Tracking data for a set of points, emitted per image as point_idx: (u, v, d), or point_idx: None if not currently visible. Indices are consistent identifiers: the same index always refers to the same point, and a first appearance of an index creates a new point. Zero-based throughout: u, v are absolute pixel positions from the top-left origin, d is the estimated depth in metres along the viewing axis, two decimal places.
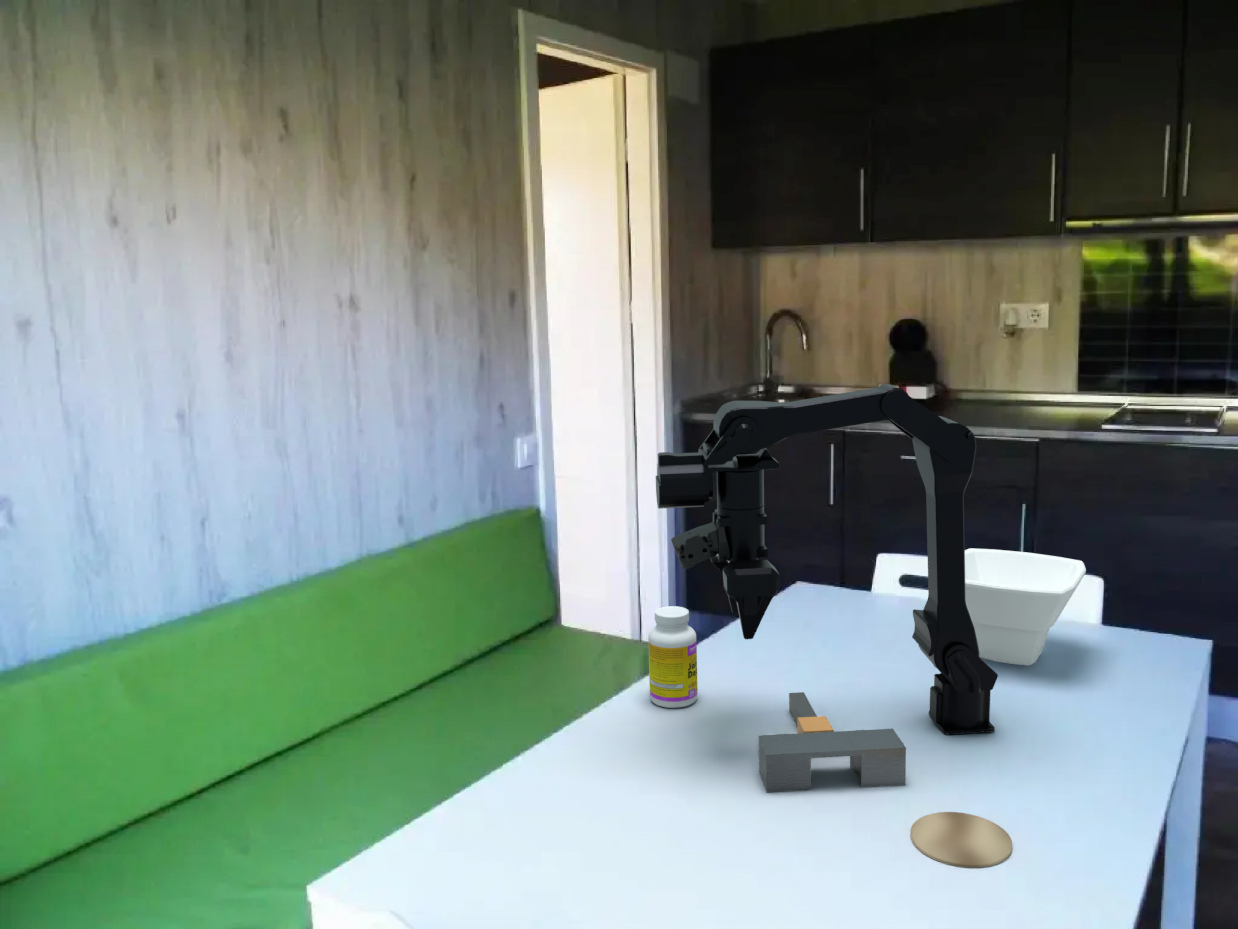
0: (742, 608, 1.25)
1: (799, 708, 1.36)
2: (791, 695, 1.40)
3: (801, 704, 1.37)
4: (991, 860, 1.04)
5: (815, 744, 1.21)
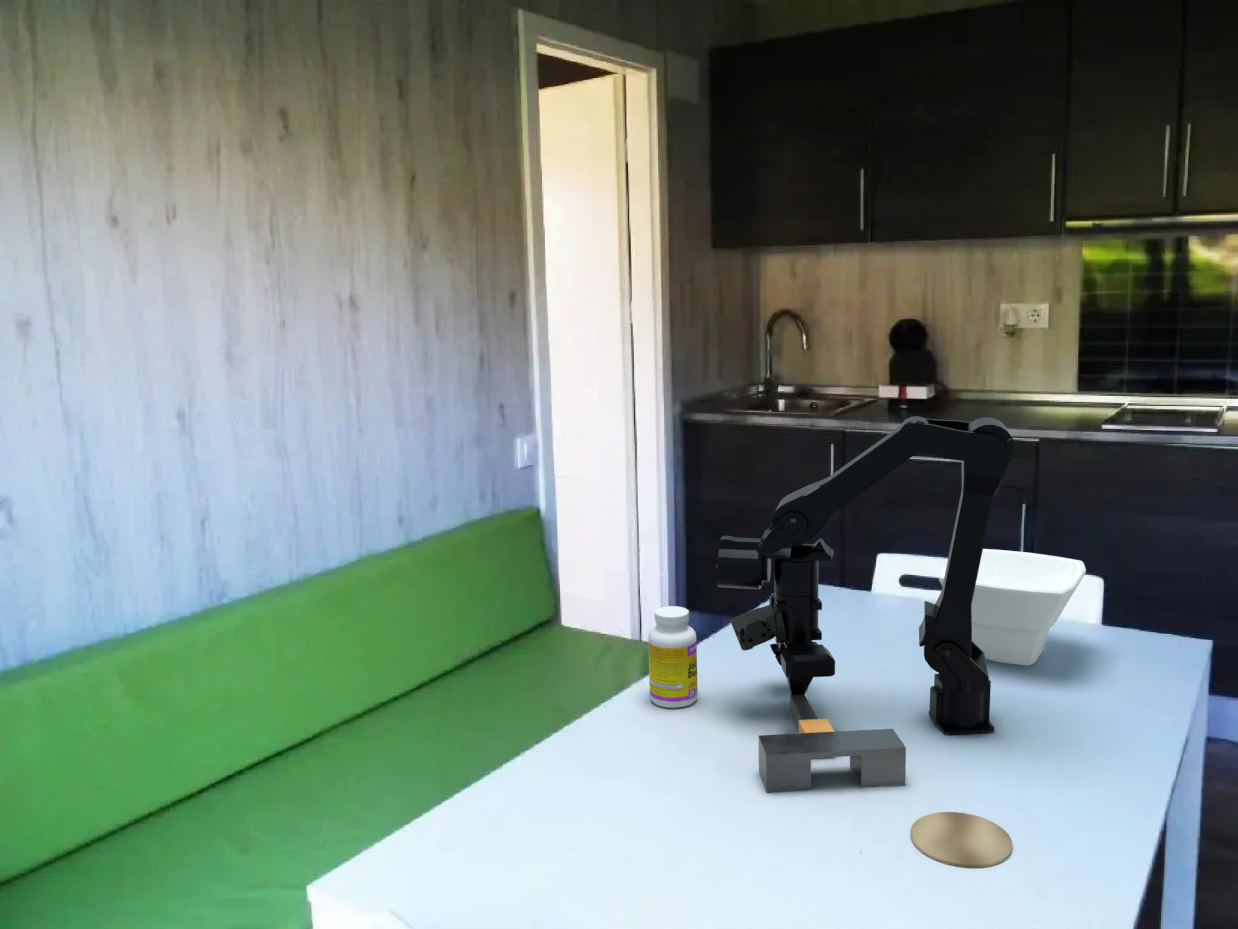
0: None
1: (800, 710, 1.35)
2: (792, 697, 1.39)
3: (802, 707, 1.36)
4: (991, 860, 1.04)
5: (815, 744, 1.21)
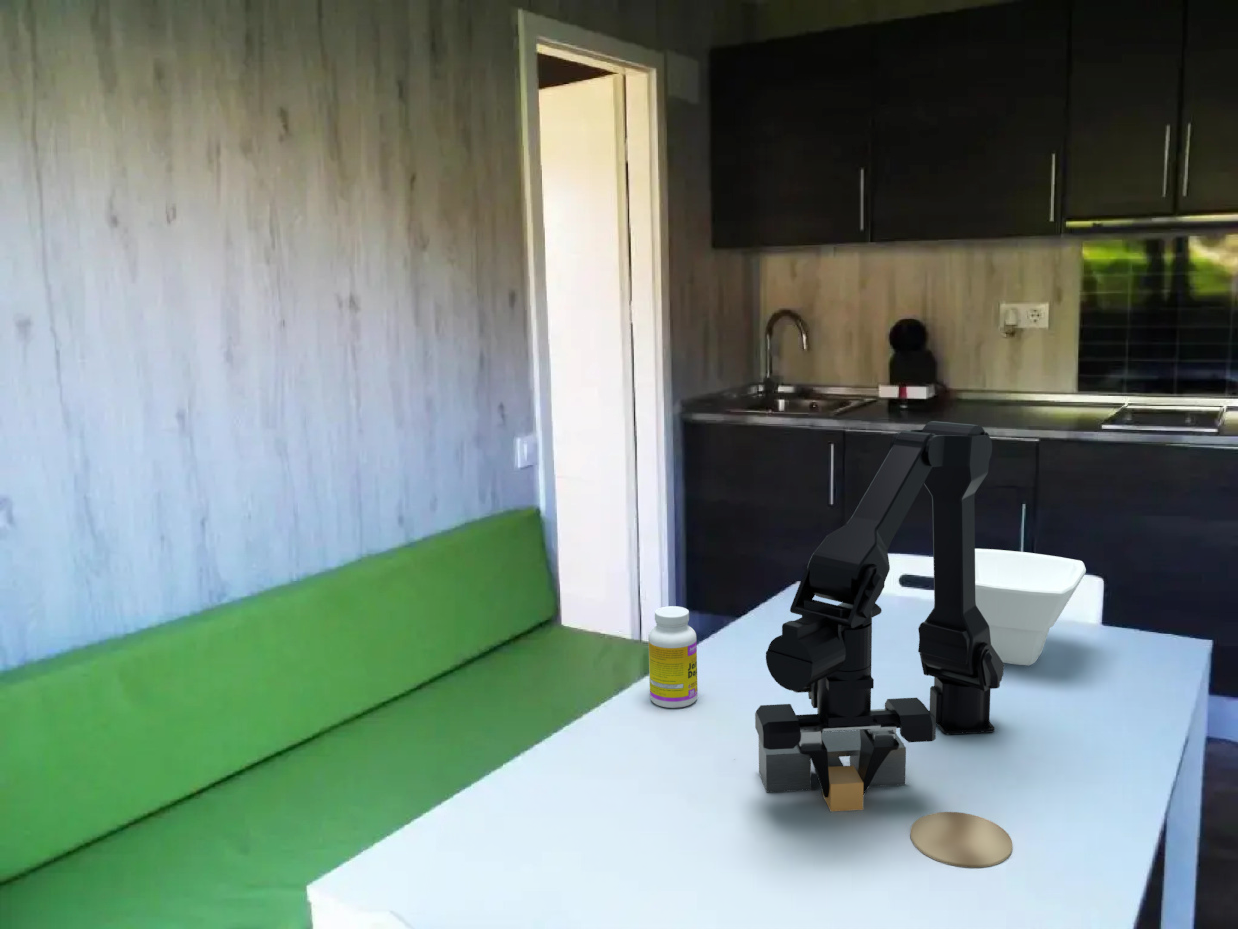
0: None
1: None
2: None
3: None
4: (991, 860, 1.04)
5: None
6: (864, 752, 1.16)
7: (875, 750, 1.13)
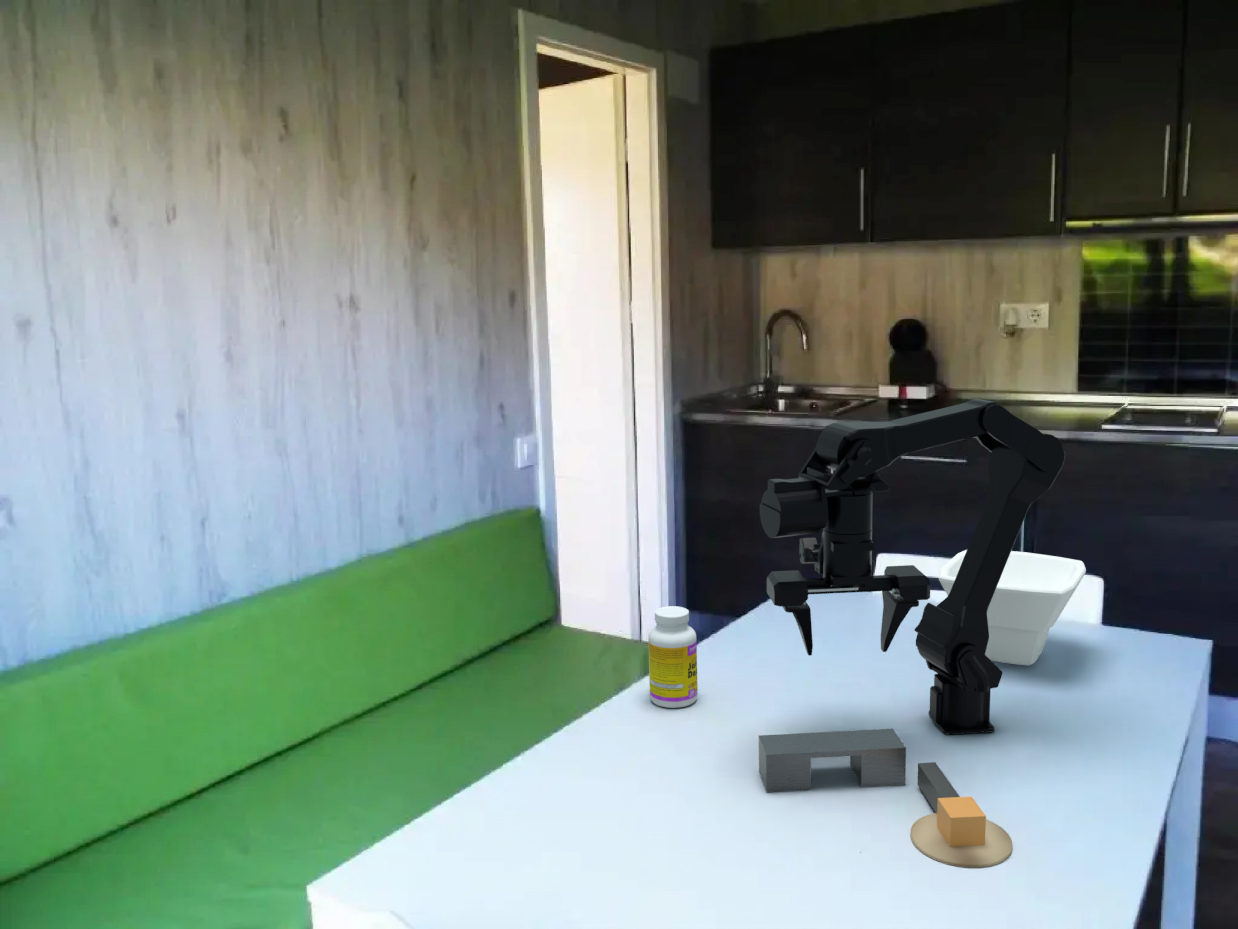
0: (795, 618, 1.29)
1: (935, 784, 1.14)
2: (921, 766, 1.18)
3: (936, 779, 1.15)
4: (991, 860, 1.04)
5: (815, 744, 1.21)
6: (887, 612, 1.28)
7: (897, 606, 1.25)
